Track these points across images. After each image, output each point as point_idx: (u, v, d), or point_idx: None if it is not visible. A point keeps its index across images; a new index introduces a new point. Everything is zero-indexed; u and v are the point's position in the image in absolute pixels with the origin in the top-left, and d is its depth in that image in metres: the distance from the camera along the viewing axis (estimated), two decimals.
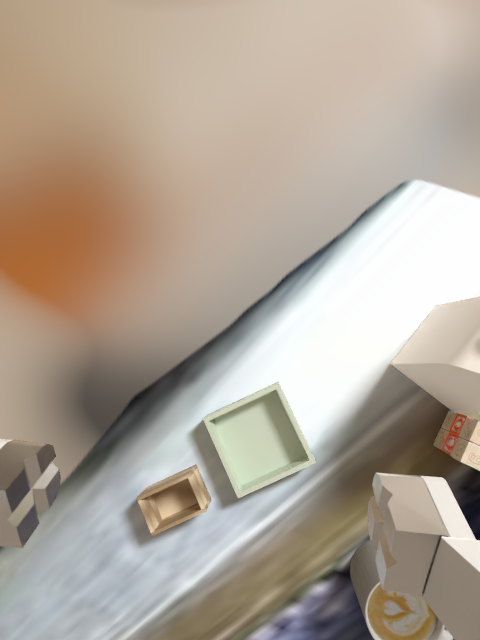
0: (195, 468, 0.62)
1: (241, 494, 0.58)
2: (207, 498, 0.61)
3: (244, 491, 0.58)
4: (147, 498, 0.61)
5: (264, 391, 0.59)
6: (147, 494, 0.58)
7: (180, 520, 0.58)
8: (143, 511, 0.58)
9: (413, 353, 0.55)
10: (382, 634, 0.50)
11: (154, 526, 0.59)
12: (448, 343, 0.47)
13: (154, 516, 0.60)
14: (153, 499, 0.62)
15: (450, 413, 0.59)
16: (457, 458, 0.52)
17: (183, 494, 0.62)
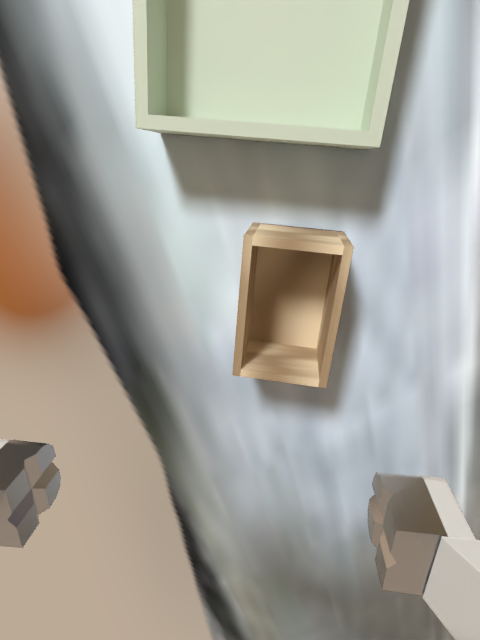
0: (256, 225, 0.25)
1: (376, 130, 0.19)
2: (333, 234, 0.24)
3: (374, 117, 0.19)
4: (254, 354, 0.27)
5: None
6: (237, 351, 0.24)
7: (334, 315, 0.22)
8: (267, 376, 0.24)
9: None
10: None
11: (312, 371, 0.25)
12: None
13: (296, 360, 0.26)
14: (269, 343, 0.28)
15: None
16: None
17: (294, 283, 0.27)
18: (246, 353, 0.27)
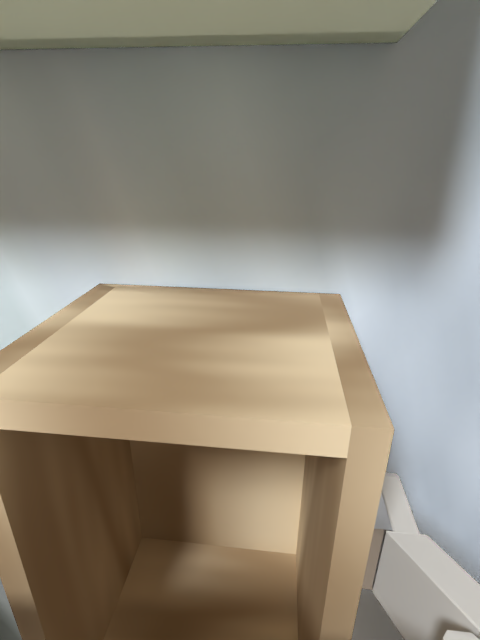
0: (89, 300, 0.09)
1: None
2: (310, 319, 0.08)
3: None
4: (138, 612, 0.10)
5: None
6: None
7: (330, 629, 0.06)
8: None
9: None
10: None
11: None
12: None
13: (243, 630, 0.10)
14: (186, 550, 0.12)
15: None
16: None
17: None
18: (117, 611, 0.11)
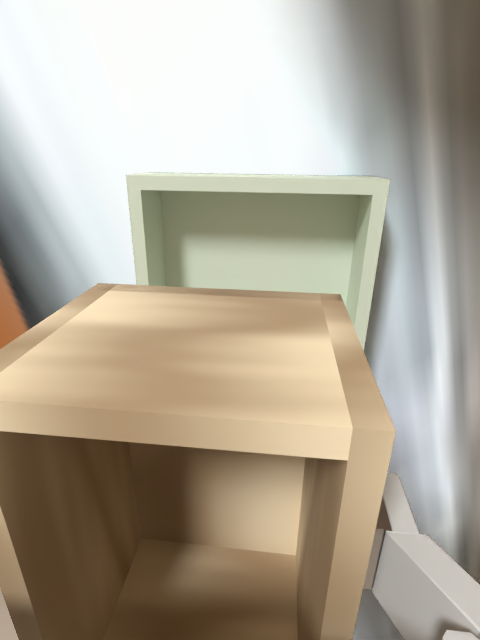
0: (87, 300, 0.09)
1: None
2: (311, 319, 0.08)
3: None
4: (137, 613, 0.10)
5: (135, 225, 0.20)
6: None
7: (331, 633, 0.06)
8: None
9: None
10: None
11: None
12: None
13: (242, 632, 0.10)
14: (185, 551, 0.12)
15: None
16: None
17: None
18: (116, 613, 0.10)
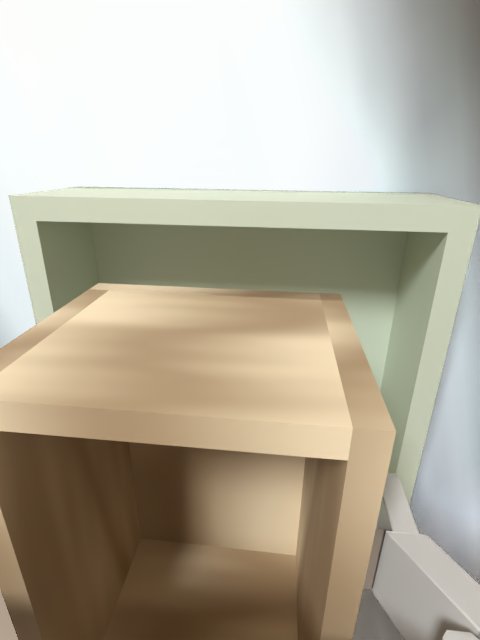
0: (87, 300, 0.09)
1: None
2: (311, 319, 0.08)
3: None
4: (137, 613, 0.10)
5: (33, 278, 0.12)
6: None
7: (331, 633, 0.06)
8: None
9: None
10: None
11: None
12: None
13: (242, 632, 0.10)
14: (185, 551, 0.12)
15: None
16: None
17: None
18: (115, 613, 0.10)
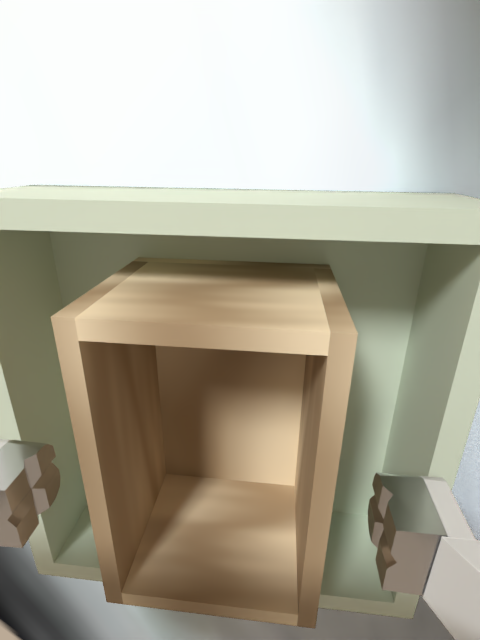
0: (134, 267, 0.11)
1: (406, 603, 0.12)
2: (305, 279, 0.10)
3: None
4: (167, 524, 0.13)
5: None
6: (105, 561, 0.10)
7: (318, 494, 0.09)
8: (181, 605, 0.11)
9: None
10: None
11: (283, 575, 0.11)
12: None
13: (252, 536, 0.13)
14: (203, 483, 0.15)
15: None
16: None
17: (237, 374, 0.13)
18: (149, 523, 0.13)
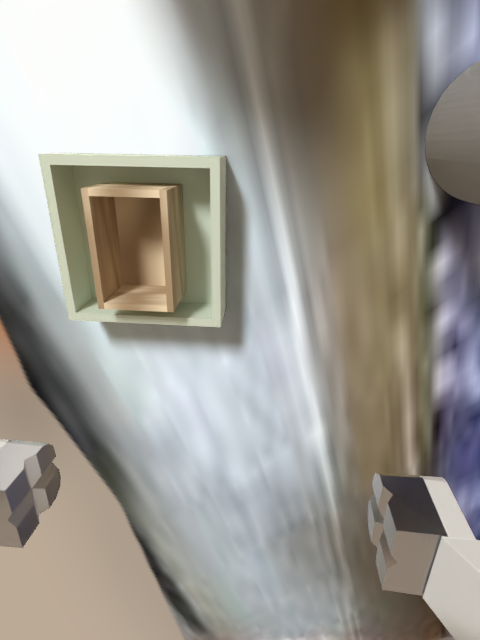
0: (106, 183, 0.30)
1: (216, 319, 0.32)
2: (167, 185, 0.29)
3: (214, 312, 0.31)
4: (122, 293, 0.32)
5: (48, 190, 0.28)
6: (97, 287, 0.29)
7: (165, 249, 0.28)
8: (125, 306, 0.30)
9: None
10: None
11: (165, 300, 0.31)
12: None
13: (156, 295, 0.32)
14: (140, 285, 0.34)
15: None
16: None
17: (150, 231, 0.32)
18: (115, 293, 0.32)
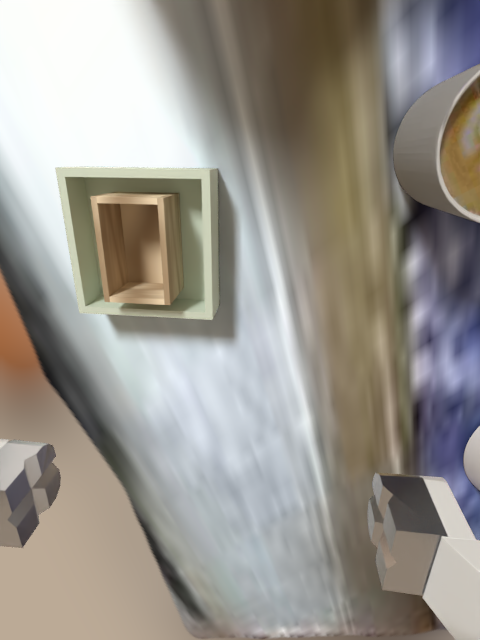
0: (113, 192, 0.34)
1: (209, 312, 0.35)
2: (165, 194, 0.33)
3: (206, 306, 0.35)
4: (126, 289, 0.36)
5: (63, 198, 0.33)
6: (104, 282, 0.34)
7: (162, 249, 0.32)
8: (128, 300, 0.34)
9: None
10: None
11: (163, 295, 0.35)
12: None
13: (156, 290, 0.36)
14: (142, 283, 0.38)
15: None
16: None
17: (151, 234, 0.36)
18: (120, 288, 0.36)
